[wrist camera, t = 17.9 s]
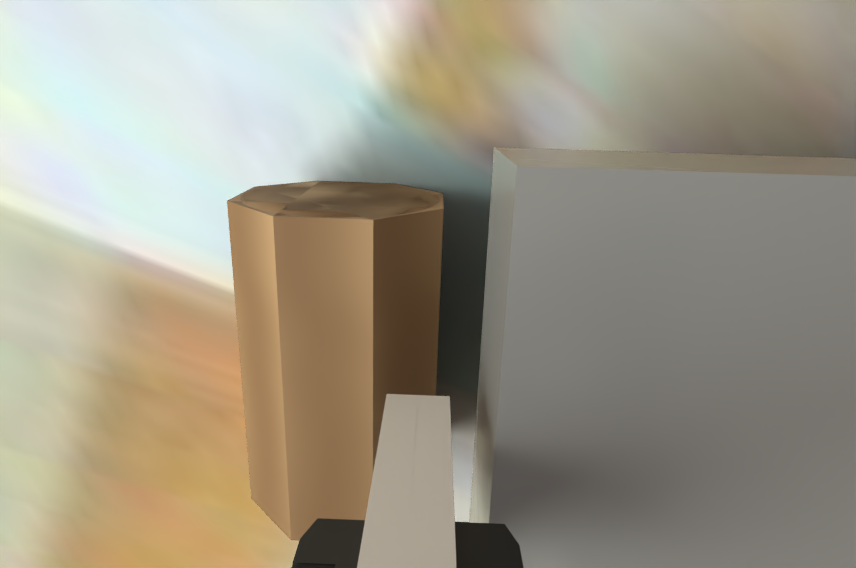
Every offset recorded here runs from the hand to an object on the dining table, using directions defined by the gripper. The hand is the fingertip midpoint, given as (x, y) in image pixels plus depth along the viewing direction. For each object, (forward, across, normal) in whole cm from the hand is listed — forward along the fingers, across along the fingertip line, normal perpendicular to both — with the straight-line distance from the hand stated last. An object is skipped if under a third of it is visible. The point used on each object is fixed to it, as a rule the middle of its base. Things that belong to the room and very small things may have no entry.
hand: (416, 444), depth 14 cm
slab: (+2, -10, 0) cm, 10 cm away
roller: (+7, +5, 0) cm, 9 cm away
